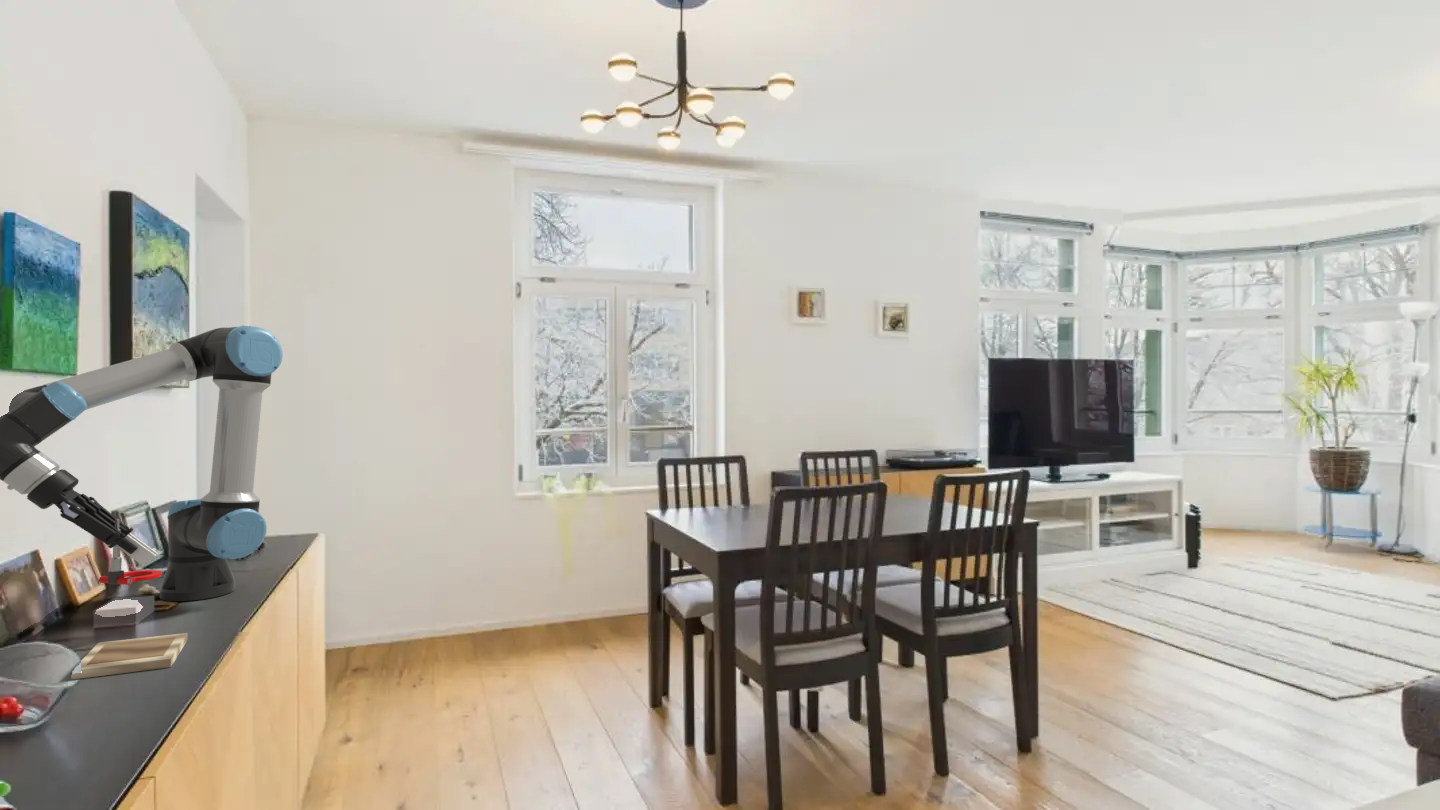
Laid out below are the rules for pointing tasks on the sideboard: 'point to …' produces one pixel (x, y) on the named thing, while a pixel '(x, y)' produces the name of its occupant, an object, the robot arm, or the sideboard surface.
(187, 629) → the sideboard surface
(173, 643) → the wooden tray
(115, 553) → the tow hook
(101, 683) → the sideboard surface
